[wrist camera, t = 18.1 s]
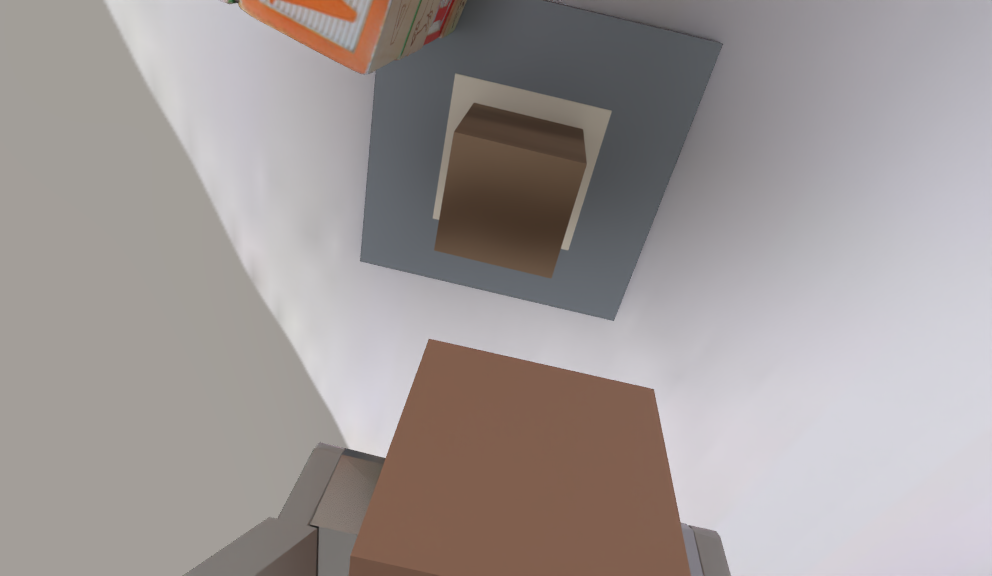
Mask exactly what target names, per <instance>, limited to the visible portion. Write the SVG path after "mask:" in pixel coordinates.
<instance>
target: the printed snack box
mask: <svg viewBox="0 0 992 576" xmlns="http://www.w3.org/2000/svg"><path fill="white" fill-rule="evenodd" d="M220 1H222V2H225V3H227V4H233V3H238V5H239V7H240V8H241V9H242V10H243V11H245V12H246V13H247V14H249V15H250V16H252V17H254V18H255V19H257V20H259V21H261V22H263V23H265V24H266V25H268V26H270V27H272V28H274V29H276V30H278V31H280V32H281V33H283V34H285V35H287V36H289V37H291V38H293V39H294V40H296V41H298V42H300V43H302V44H304V45H306V46H308V47H309V48H311V49H313V50H315V51H317V52H319V53H321V54H323V55H325V56H327V57H329V58H330V59H332V60H334V61H336V62H338V63H340V64H342V65H344V66H346V67H348V68H350V69H351V70H354V71H356V72H358V73H361V74H363V75H366V74H369V73H372V72H373V71H375V70H377V69H379V68H381V67H383V66H385V65H387V64H388V63H390V62H392V61H393V60H400V59H402V58H404V57H405V56H409V55H410V54H412V53H415V52H416V51H418V50H420V49H422V47H423V45H426V44H428V43H430V42H432V41H433V40H435V39H437V38H444V37H446V36H448V35H449V34H450V33H452V32H453V31H454V30H455V28H456V25H457V23H458V21H459V18H460V16H461V14H462V11H463V9H464V6H465V4H466V2H467V0H220Z"/></svg>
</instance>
